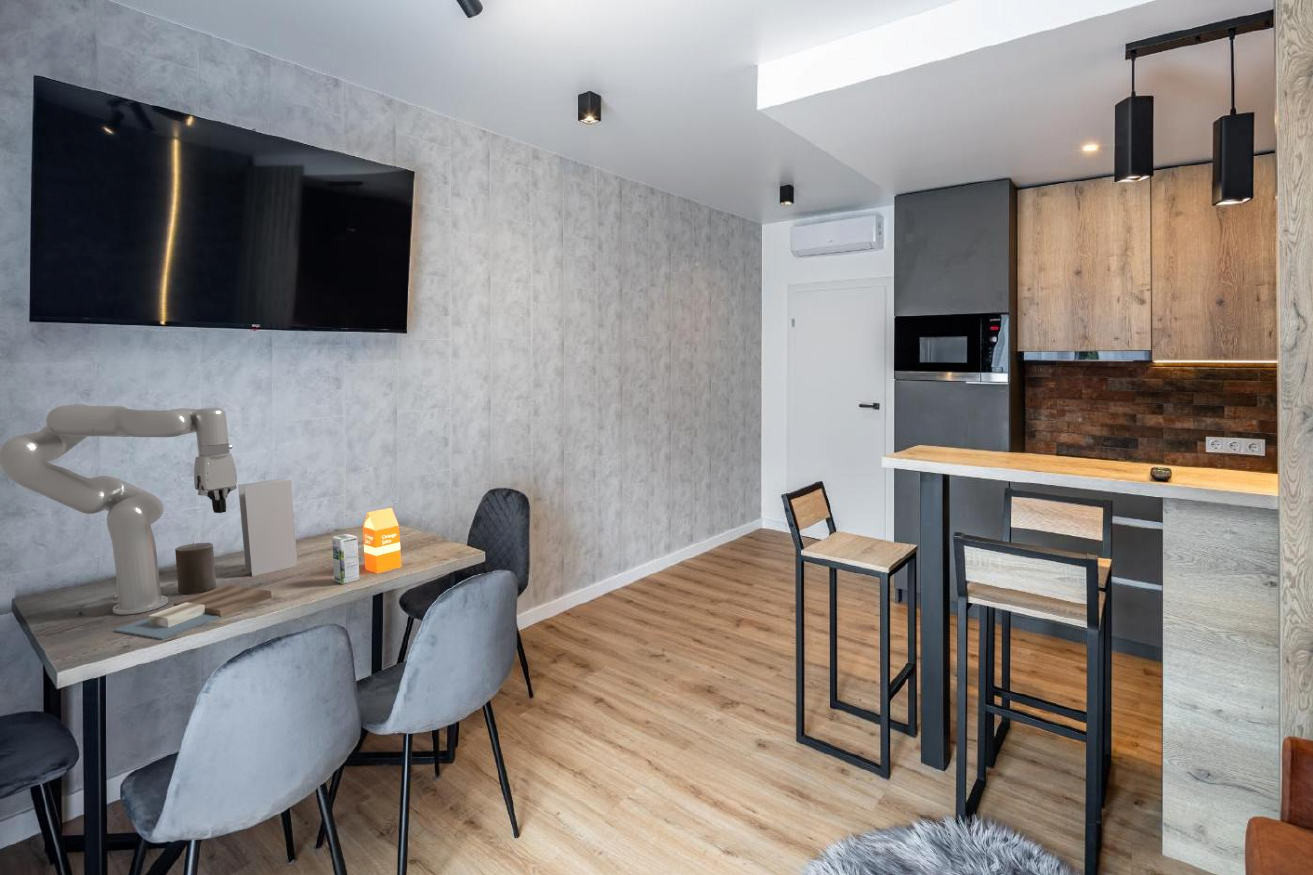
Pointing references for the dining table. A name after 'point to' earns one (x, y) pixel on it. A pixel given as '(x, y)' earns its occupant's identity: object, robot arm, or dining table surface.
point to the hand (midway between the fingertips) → (219, 512)
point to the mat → (160, 631)
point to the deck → (228, 599)
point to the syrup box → (345, 558)
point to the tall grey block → (267, 526)
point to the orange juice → (381, 541)
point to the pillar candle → (195, 568)
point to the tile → (176, 614)
